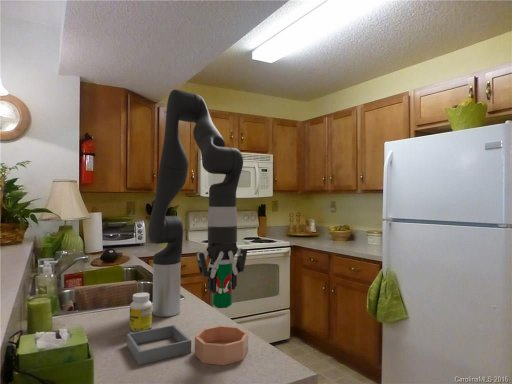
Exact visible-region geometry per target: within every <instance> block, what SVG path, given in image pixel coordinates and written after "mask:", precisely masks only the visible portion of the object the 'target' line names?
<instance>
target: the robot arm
mask: <svg viewBox="0 0 512 384" xmlns="http://www.w3.org/2000/svg"><path fill="white" fill-rule="evenodd" d="M165 111H166V113H165V114H166V115H165V126H164V127H165V128H164V137H163V145H162V150H161V155H160V156H161V157H160V161H159V162H160V163H159V167H158V176H157V183H156V188H155V189H156V190H155V196H154V201H153V205H152V210H151V215H150V218H149V223H148V229H147V230H148V232H147V235H148V239H149V241H150V242H151V243H152V244H167V245H166V246H165V247H164V248H163V249H162V250H159V252H156V253H155V254H153V256H152V258H153V259H152V316H154V317H160V318H163V317H173V316H176V315H178V314H180V313H181V274H182V273H181V271H182V270H181V258H182V253H183V239H184V224H183V220H182V219H181V218H180V216H178V215H167V212H168V209H169V206H170V204H171V203H172V201H173V200H174V199H175V198H176V196H177V195H178V194H179V193H180V192H181V190H182V189H183V187H184V186H185V184H186V182H187V178H188V174H189V173H188V172H189V165H190V162H189V159H188V155H187V152H186V150H185V148H184V146H183V143H182V141H181V138H180V134H179V133H180V132H179V131H180V130H179V125H180V124H179V122H180V121H181V122H186V123H194V127H193V131H192V133H193V134H192V135H193V138H194V141H195V144H196V145H197V147H198V148H199V150H200V154H201V155H200V156H201V163H202V164H201V165H202V167H203V169H204V170H205V171H206V172H208V173H209V174H214V175H225V176H224V179H223V180H222V182H219V183H213V184H210V186H209V189H208V212H207V247H206V249H205V250H204V251H197V252H195V257H196V261H197V262H196V263H197V265H198V271H199V274H200V275H201V276H204V277H206V283H207V285H206V287H207V290H208V291H209V293H210V294H212V293H215V278H214V277H215V274H216V271H217V269H218V268H219V264H220V262H221V260H224V259H230V261H231V263H232V291H234V290H235V289H236V287H237V286H238V282H237V281H238V274H239V273H243V272H244V271H245V265H246V260H247V255H248V250H247V249H246V248H243V247H241V248H239V247H238V245H237V242H238V213H237V190H238V187H239V186H238V185H239V181H240V178H241V173H242V171H243V166H244V157H243V155H242V154H243V153H242V152H241V150H239V149H237V148H235V147H227V146H226V142H225V139H224V137H223V136H222V135H221V133H220V132H219V130H218V128H217V127H216V126H215V124H214V123H213V121H212V120H213V119H212V117H211V115H210V112H209V111H210V110H209V109H208V107H207V104H206V101H205V100H204V98H203V97H202V96H201V95H199V94H197V93H194V92H190V91H189V92H188V91H185V90H181V89H173V90H171V91H170V93H169V95H168V99H167V104H166V110H165ZM236 255H237V257H236V261H235V256H236ZM208 257H209V261H208V264H207V262H206V260H207V258H208ZM213 263H214V265H213ZM207 265H208V266H207Z"/></svg>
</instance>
